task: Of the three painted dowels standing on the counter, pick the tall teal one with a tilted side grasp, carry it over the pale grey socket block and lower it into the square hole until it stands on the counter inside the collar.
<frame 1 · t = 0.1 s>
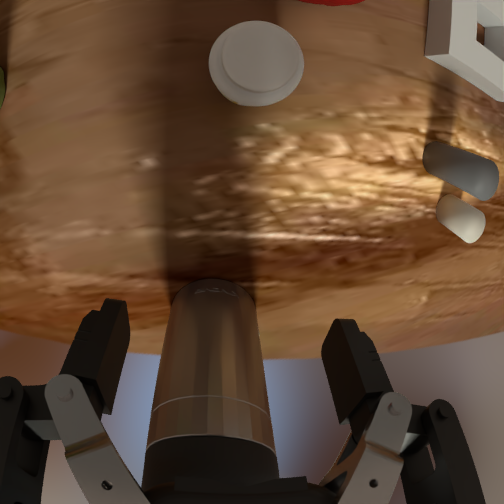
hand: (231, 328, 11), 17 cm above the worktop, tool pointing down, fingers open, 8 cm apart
charcoal pin: (435, 158, 26), on the worktop
cream pin: (447, 209, 29), on the worktop
supplement bottle: (248, 74, 22), on the worktop
socket block: (469, 34, 19), on the worktop
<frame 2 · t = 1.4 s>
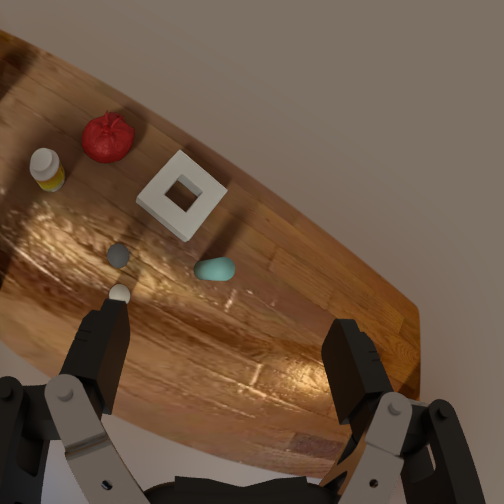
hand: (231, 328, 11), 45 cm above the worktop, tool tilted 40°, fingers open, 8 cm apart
teal pin: (202, 270, 57), on the worktop
pomegranate: (108, 145, 51), on the worktop
charcoal pin: (118, 258, 51), on the worktop
cream pin: (119, 294, 50), on the worktop
supplement bottle: (52, 178, 46), on the worktop
socket block: (179, 198, 56), on the worktop
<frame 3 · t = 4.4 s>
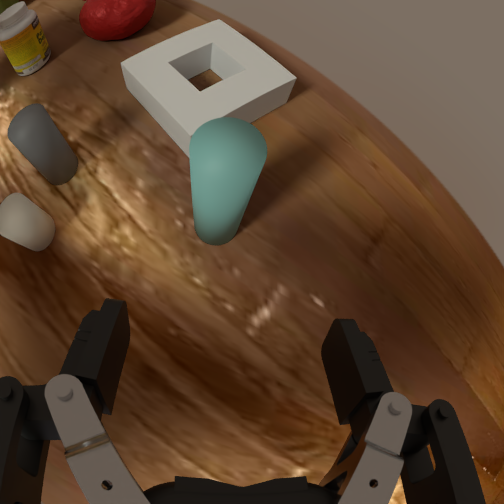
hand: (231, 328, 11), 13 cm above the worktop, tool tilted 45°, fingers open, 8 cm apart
teal pin: (216, 224, 25), on the worktop
pomegranate: (120, 29, 29), on the worktop
plant pot: (5, 16, 27), on the worktop
charcoal pin: (61, 167, 24), on the worktop
cream pin: (39, 231, 22), on the worktop
supplement bottle: (34, 64, 26), on the worktop
socket block: (205, 91, 28), on the worktop
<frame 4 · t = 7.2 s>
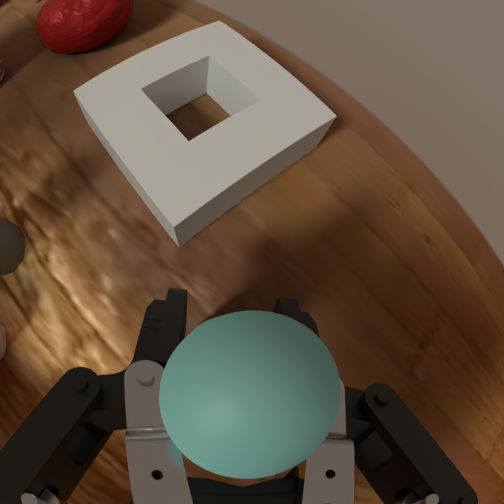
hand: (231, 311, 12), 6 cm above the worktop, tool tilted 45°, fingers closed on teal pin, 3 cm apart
teal pin: (219, 348, 17), on the worktop, touching gripper
pomegranate: (90, 36, 21), on the worktop
charcoal pin: (6, 248, 16), on the worktop
socket block: (198, 129, 20), on the worktop
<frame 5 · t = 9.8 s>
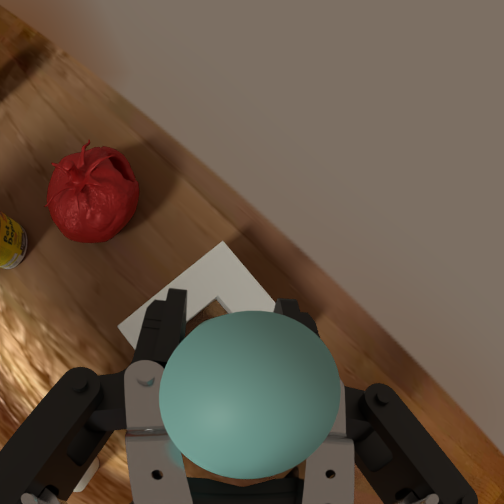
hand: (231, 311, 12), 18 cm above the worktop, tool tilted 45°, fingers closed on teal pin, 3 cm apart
teal pin: (218, 348, 17), point 12 cm above the worktop, touching gripper
pomegranate: (102, 206, 30), on the worktop
cream pin: (84, 459, 23), on the worktop
supplement bottle: (13, 246, 27), on the worktop
socket block: (212, 336, 29), on the worktop
when the fingers open (7 cm above the worktop, at t = 12.5 s): teal pin drops 2 cm, resting in socket block.
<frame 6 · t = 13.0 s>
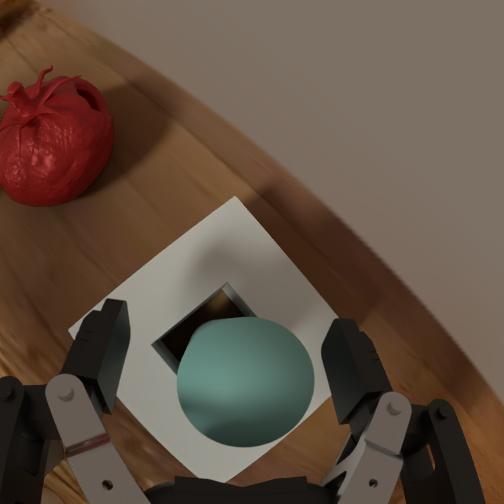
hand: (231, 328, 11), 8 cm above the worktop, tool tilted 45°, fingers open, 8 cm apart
teal pin: (217, 347, 19), resting in socket block
pomegranate: (67, 163, 20), on the worktop
charcoal pin: (43, 444, 15), on the worktop
cream pin: (48, 502, 13), on the worktop
socket block: (217, 345, 19), on the worktop
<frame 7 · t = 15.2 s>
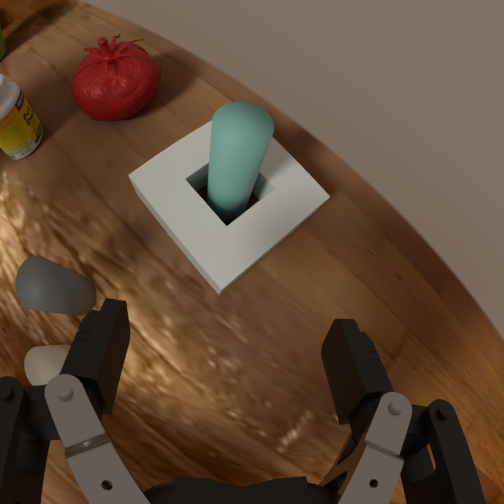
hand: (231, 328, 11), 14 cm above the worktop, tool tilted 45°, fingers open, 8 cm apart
teal pin: (226, 203, 28), resting in socket block
pomegranate: (121, 100, 29), on the worktop
charcoal pin: (78, 295, 24), on the worktop
cream pin: (67, 363, 22), on the worktop
supplement bottle: (26, 142, 26), on the worktop
socket block: (226, 202, 28), on the worktop
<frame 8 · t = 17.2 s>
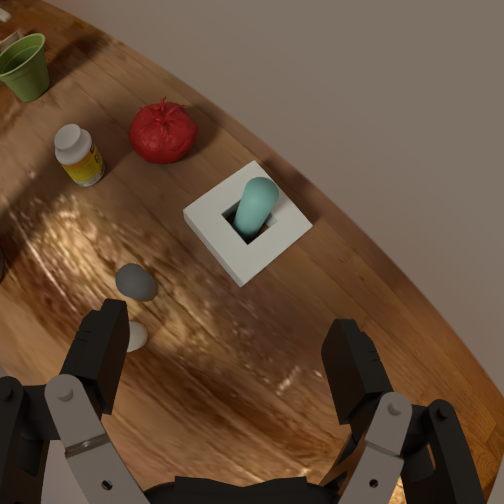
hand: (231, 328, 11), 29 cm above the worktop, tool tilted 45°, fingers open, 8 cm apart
teal pin: (245, 227, 42), resting in socket block
oak coaster frame: (3, 66, 42), on the worktop
pomegranate: (165, 145, 44), on the worktop
plant pot: (36, 89, 42), on the worktop
charcoal pin: (144, 288, 38), on the worktop
cream pin: (134, 335, 37), on the worktop
supplement bottle: (89, 172, 41), on the worktop
socket block: (245, 226, 42), on the worktop
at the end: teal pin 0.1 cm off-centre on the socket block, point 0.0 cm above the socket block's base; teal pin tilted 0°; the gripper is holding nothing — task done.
